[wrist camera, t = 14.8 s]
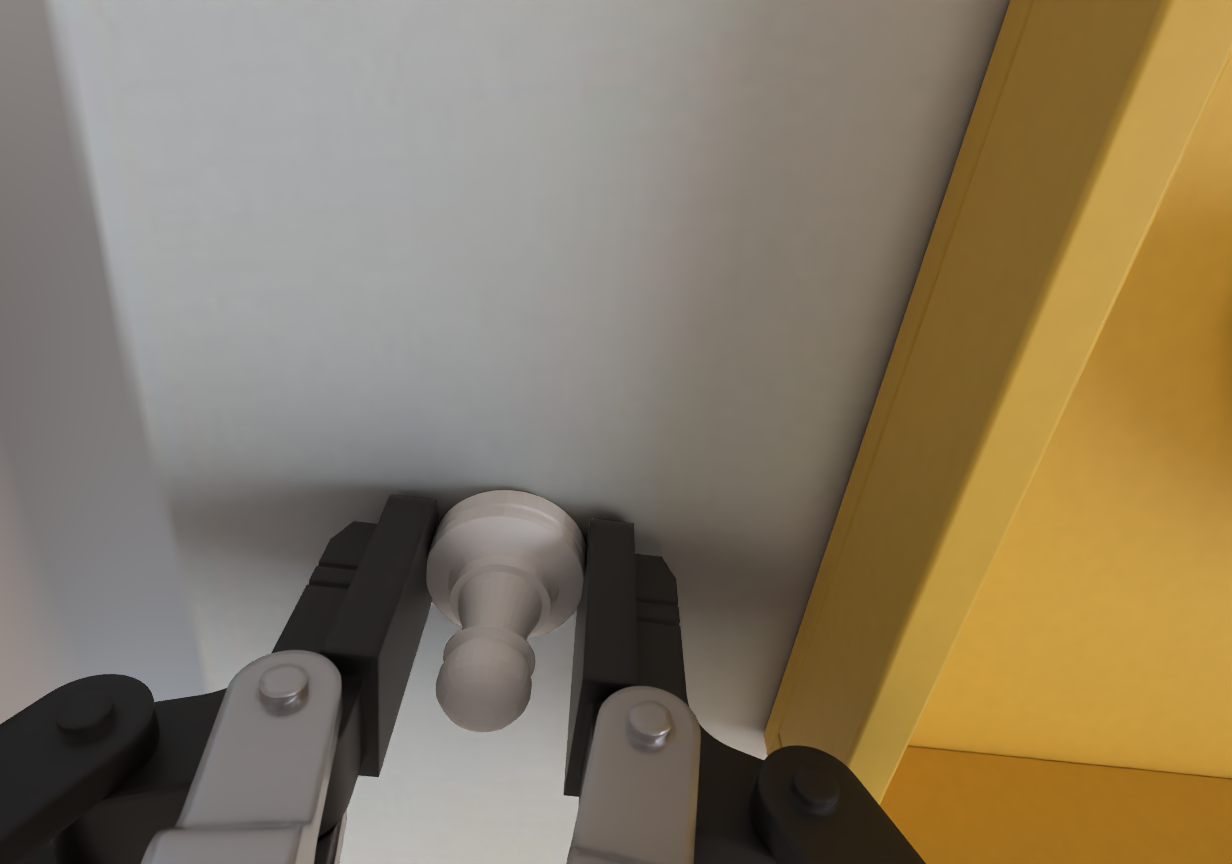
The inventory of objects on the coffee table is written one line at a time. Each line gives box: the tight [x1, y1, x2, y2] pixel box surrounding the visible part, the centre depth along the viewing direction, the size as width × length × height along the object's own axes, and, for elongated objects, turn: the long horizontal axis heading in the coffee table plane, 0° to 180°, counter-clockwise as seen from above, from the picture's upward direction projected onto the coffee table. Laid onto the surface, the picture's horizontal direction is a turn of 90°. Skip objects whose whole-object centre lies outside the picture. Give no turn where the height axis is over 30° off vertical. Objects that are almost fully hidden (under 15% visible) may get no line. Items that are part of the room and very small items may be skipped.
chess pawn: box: [426, 490, 586, 732], centre depth 12 cm, size 3×3×4 cm
